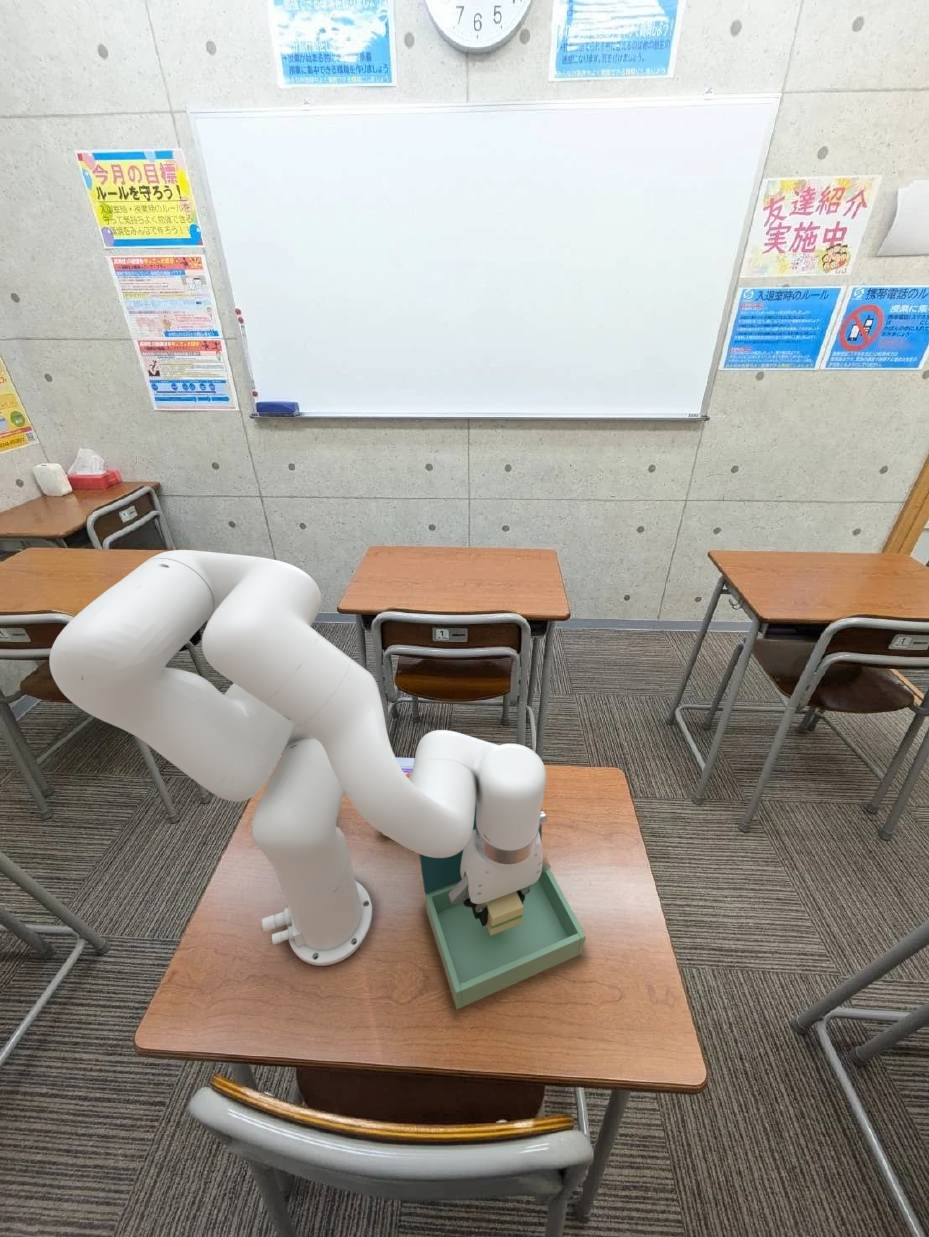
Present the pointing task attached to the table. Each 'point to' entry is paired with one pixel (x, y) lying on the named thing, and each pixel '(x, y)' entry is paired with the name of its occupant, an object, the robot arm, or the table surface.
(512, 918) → the yellow block
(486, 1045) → the table surface
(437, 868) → the lunchbox lid
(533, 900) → the box
